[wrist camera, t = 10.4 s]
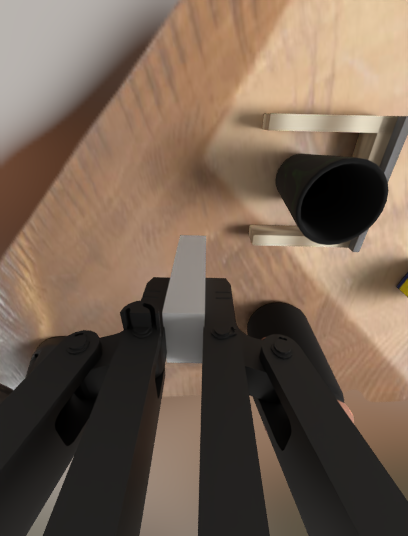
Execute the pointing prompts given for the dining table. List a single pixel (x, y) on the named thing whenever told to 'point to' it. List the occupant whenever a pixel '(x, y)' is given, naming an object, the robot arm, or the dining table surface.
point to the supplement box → (404, 285)
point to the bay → (367, 147)
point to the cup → (332, 195)
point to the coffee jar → (295, 339)
